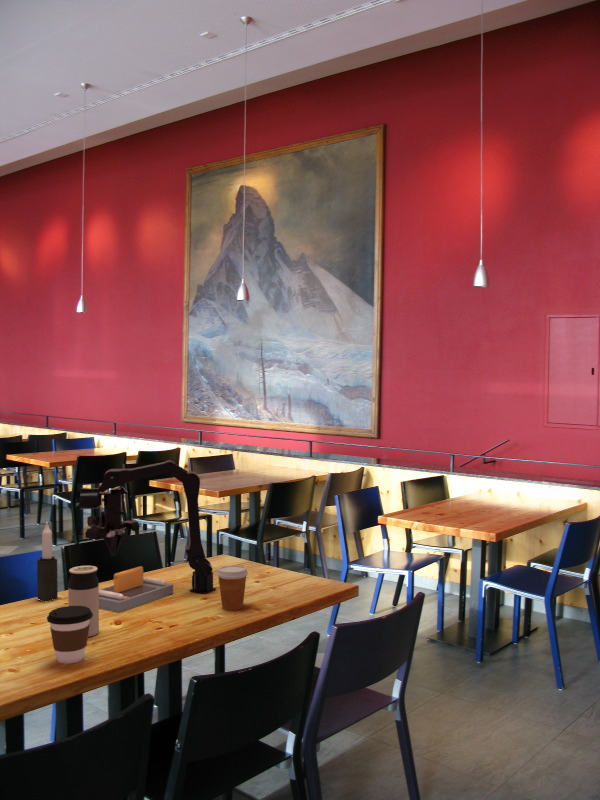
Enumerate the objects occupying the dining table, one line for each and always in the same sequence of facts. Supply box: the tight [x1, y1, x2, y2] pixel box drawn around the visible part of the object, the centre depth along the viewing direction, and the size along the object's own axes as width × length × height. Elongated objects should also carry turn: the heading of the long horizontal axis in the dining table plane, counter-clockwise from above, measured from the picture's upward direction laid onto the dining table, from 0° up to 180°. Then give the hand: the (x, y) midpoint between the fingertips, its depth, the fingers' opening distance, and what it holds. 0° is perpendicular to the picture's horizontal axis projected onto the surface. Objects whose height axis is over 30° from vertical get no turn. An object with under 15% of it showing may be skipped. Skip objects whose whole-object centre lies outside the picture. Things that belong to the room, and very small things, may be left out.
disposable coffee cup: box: [216, 565, 249, 611], centre depth 227 cm, size 10×10×12 cm
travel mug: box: [67, 565, 100, 638], centre depth 203 cm, size 8×8×18 cm
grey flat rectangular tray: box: [99, 575, 174, 613], centre depth 237 cm, size 16×24×5 cm, turn 148°
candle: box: [36, 521, 59, 602], centre depth 237 cm, size 5×5×25 cm
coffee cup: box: [46, 605, 93, 665], centre depth 184 cm, size 11×11×12 cm
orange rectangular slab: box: [113, 566, 144, 593], centre depth 237 cm, size 2×11×6 cm, turn 148°
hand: (113, 556), depth 241 cm, fingers closed
